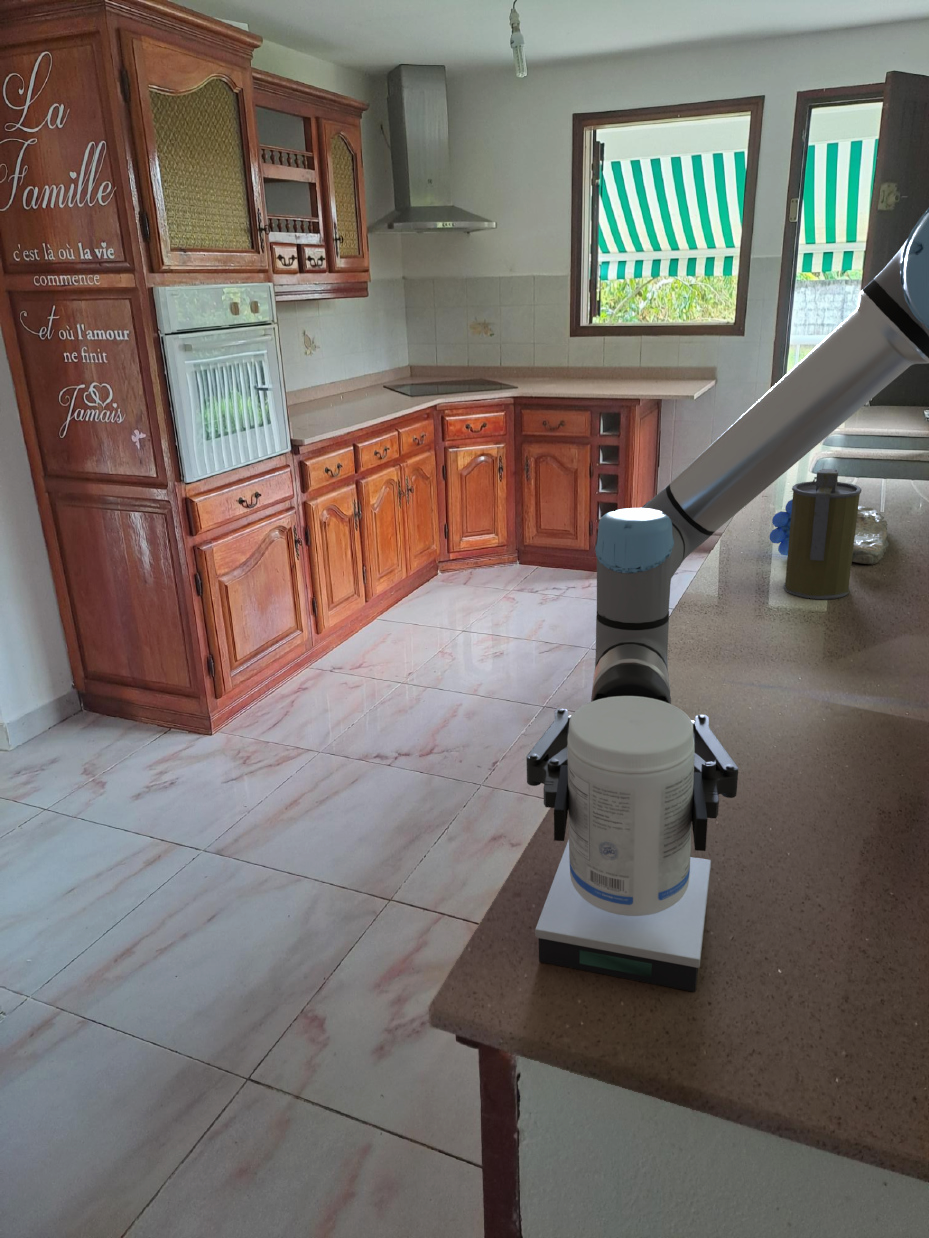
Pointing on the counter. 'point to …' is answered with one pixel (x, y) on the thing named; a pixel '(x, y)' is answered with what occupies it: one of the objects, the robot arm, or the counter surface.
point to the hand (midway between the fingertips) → (629, 830)
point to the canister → (822, 537)
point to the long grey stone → (869, 536)
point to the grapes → (782, 529)
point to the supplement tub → (630, 803)
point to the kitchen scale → (626, 933)
